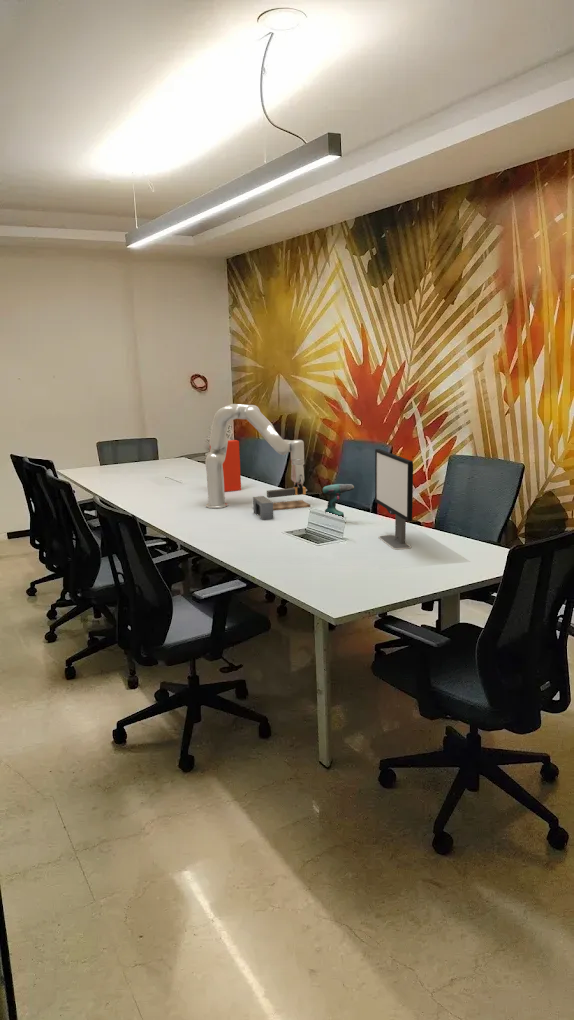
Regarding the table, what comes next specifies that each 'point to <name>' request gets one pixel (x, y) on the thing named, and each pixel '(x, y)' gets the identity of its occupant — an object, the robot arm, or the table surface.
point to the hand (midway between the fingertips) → (298, 493)
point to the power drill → (335, 496)
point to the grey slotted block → (263, 507)
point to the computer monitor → (394, 493)
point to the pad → (290, 505)
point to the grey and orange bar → (284, 492)
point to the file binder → (232, 467)
